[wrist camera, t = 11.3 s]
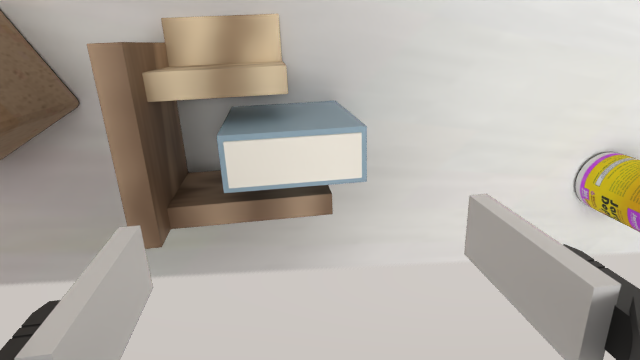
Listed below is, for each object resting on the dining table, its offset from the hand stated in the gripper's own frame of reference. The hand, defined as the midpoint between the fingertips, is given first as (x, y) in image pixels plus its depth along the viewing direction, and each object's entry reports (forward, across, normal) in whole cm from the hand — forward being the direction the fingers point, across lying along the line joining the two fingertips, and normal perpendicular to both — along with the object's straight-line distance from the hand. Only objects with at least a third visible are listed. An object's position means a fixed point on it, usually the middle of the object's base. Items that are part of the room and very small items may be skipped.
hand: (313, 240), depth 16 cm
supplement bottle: (+25, +36, -9) cm, 44 cm away
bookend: (+25, -5, +7) cm, 26 cm away
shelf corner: (+25, -4, +1) cm, 25 cm away
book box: (+25, 0, 0) cm, 25 cm away
